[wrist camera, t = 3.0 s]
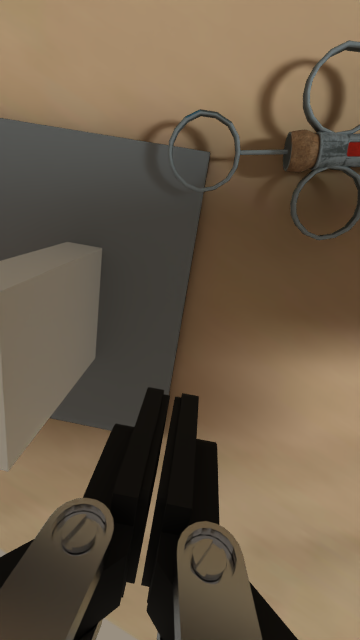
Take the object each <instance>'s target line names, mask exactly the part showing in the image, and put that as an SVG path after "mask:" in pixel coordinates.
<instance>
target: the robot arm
mask: <svg viewBox="0 0 360 640" xmlns="http://www.w3.org/2000/svg"><path fill="white" fill-rule="evenodd" d="M169 398H170V395H164V390H162V389H157V388H151V387H148V388H147V391H146V394H145V397H144V400H143V403H142V406H141V409H140V412H139V415H138V418H137V421H136V424H135V427H132V426H127V425H121V424H115V425H114V427H113V429H112V431H111V433H110V436H109V438H108V440H107V443H106V445H105V447H104V450H103V452H102V454H101V457H100V459H99V461H98V464H97V466H96V468H95V471H94V473H93V475H92V478H91V480H90V482H89V485H88V487H87V489H86V492H85V494H84V496H83V498H78V499H74V500H71V501H69V502H66V503H65V504H63V505H62V506H60V507H59V508H57V509H56V510H55V511H54V513H53V514H52V515H51V516H50V517H49V519H48V520H47V522H46V523H45V524H44V526H43V527H42V529H41V530H40V532H39V533H38V535H37V536H36V538H35V539H33V540H31V541H30V542H28V543H26V544H24V545H22V546H20V547H18V548H17V549H15V550H13V551H11V552H9V553H7V554H5V555H4V556H2V557H0V640H96V638H97V635H98V633H99V630H100V627H101V624H102V620H103V618H105V617H106V616H107V615H108V614H110V613H111V612H112V611H113V610H115V609H116V608H117V607H118V606H120V601H121V597H123V595H124V590H125V586H126V582H129V583H135V578H136V573H137V568H138V563H139V558H140V553H141V548H142V543H143V538H144V533H145V528H146V522H147V517H148V512H149V507H150V502H151V497H152V492H153V487H154V482H155V477H156V472H157V467H158V461H159V456H160V450H161V444H162V438H163V433H164V427H165V421H166V415H167V410H168V404H169ZM198 401H199V396H194V395H189V394H183V393H182V397H181V398H180V397H175V400H174V406H173V411H172V417H171V422H170V428H169V433H168V439H167V444H166V450H165V455H164V461H163V466H162V472H161V478H160V483H159V489H158V494H157V500H156V505H155V511H154V517H153V522H152V528H151V533H150V539H149V545H148V550H147V556H146V561H145V567H144V572H143V578H142V584H141V585H143V586H148V587H149V593H148V599H147V603H148V605H147V613H148V615H149V616H150V618H151V620H152V622H153V624H154V625H155V627H156V629H157V631H158V633H157V640H298V639H297V638H296V637H295V635H294V634H293V633H292V632H291V631H290V629H289V628H288V627H287V626H286V625H285V623H284V622H283V621H282V620H281V619H280V618H279V616H278V615H277V614H276V613H275V612H274V610H273V609H272V608H271V607H270V606H269V604H268V603H267V602H266V601H265V600H264V598H263V597H262V596H261V595H260V594H259V592H258V591H257V590H256V589H255V588H254V586H253V585H252V584H251V583H250V582H249V579H248V574H247V570H246V566H245V561H244V557H243V554H242V551H241V548H240V546H239V544H238V542H237V541H236V539H235V538H234V536H233V535H232V534H231V533H230V532H229V531H227V530H226V529H225V528H224V527H222V526H220V525H219V495H218V460H217V444H216V442H211V441H205V440H200V439H196V435H197V418H198Z"/></svg>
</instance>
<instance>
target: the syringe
mask: <svg viewBox="0 0 360 640" xmlns="http://www.w3.org/2000/svg"><path fill="white" fill-rule="evenodd" d="M344 50H347V51H354V52H360V42H355V41H347V42H345V43H343V44H341V45H339V46H336V47H334V48H332V49H331V50H330V51H329V52H328V53H327V54H326V55H325V56H324V57H323V58H322V59H321V60H320V61H319V62H318V63H317V64H316V65H315V67H314V68H313V70H312V72H311V73H310V75H309V77H308V79H307V81H306V84H305V88H304V93H303V110H304V113H305V116H306V119H307V121H308V122H309V124H310V125H311V126H312V127H313V128H314V130H315V131H316V132H317V133H313V132H310V131H308V130H298V131H292V132H289V134H288V135H287V138H286V142H285V147H284V150H240V141H239V135H238V133H237V131H236V129H235V127H234V125H233V123H232V122H231V121H229V120H228V119H226V118H225V117H223V116H222V115H221V114H219V113H218V112H213V111H207V110H201V109H200V110H198V111H196V112H194V113H192V114H190V115H187V116H185V117H184V119H183V120H182V121H181V122H180V123H179V124H178V125H177V126H176V128H175V129H174V131H173V133H172V136H171V138H170V140H169V147H168V158H169V165H170V167H171V169H172V171H173V173H174V175H175V177H176V178H177V179H178V180H179V181H180V182H181V183H182V184H183V185H184V186H185V187H187V188H189V189H192V190H194V191H196V192H205V191H210V190H215V189H217V188H218V187H220V186H221V185H223V184H224V183H226V182H227V181H229V180H230V178H231V177H232V175H233V174H234V172H235V170H236V169H237V167H238V162H239V157H240V155H266V154H283V168H284V170H285V171H289V172H298V173H299V172H302V171H305V170H308V169H311V170H312V171H311V172H310V173H309V174H307V175H306V176H305V177H304V178H303V179H302V180H301V181H300V182H299V184H298V185H297V187H296V189H295V190H294V192H293V195H292V199H291V203H290V207H291V216H292V219H293V222H294V224H295V225H296V226H297V228H298V229H299V230H300V231H301V232H302V233H303V234H305V235H307V236H309V237H312V238H314V239H317V240H324V239H330V238H336V237H337V236H339V235H341V234H343V233H345V232H347V231H349V230H351V228H352V227H353V226H354V225H355V224H356V222H357V221H358V220H359V219H360V175H359V174H357V173H356V172H355V171H353V170H352V169H350V168H349V167H360V134H353V133H355V132H356V131H358V130H360V125H358V126H357V127H355V128H353V129H352V130H348V131H343V132H337V133H335V132H333V131H331V130H329V129H327V128H324V127H323V126H322V125H321V124H320V123H319V122H318V120H317V119H316V118H315V117H314V115H313V112H312V109H311V106H310V89H311V85H312V81H313V78H314V77H315V75H316V73H317V71H318V70H319V68H320V67H321V66H322V65H323V64H324V63H325V62H326V61H327V60H328V59H329V58H330V57H332V56H334V55H336V54H338V53H340V52H342V51H344ZM200 116H203V117H210V118H216V119H217V120H219V121H220V122H222V123H223V124H225V125H226V126H228V128H229V130H230V132H231V134H232V136H233V138H234V142H235V158H234V164H233V168H232V169H231V171H230V173H229V174H228V176H227V177H226V179H224V180H223V181H221V182H220V183H218V184H216V185H215V186H212V187H206V188H200V189H199V188H197V187H195V186H192V185H190V184H188V183H187V182H186V181H185V180H184V179H183V178H182V177H181V176H180V175H179V174H178V172H177V170H176V168H175V166H174V162H173V155H172V154H173V145H174V142H175V140H176V137H177V135H178V133H179V132H180V131H181V130H182V129H183V127H184V126H185V125H186V124H187V123H188V122H190V121H192V120H194V119H196V118H198V117H200ZM326 169H334V170H341V171H343V172H344V173H346V174H347V175H349V176H350V177H352V178H353V180H354V182H355V184H356V187H357V189H358V201H357V206H356V209H355V212H354V215H353V217H352V218H351V219H350V220H349V222H348V223H347V224H346V225H345V227H343V228H341V229H339V230H337V231H336V232H334V233H332V234H326V235H319V236H317V235H315V234H312V233H310V232H308V231H307V230H306V229H305V228H304V226H303V225H302V224H301V223H300V221H299V219H298V216H297V214H296V203H297V199H298V195H299V192H300V191H301V189H302V188H303V186H304V185H305V183H306V182H307V181H308V180H310V179H311V178H312V177H313V176H314V175H315V174H316V173H319V172H321V171H323V170H326Z"/></svg>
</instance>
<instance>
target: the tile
mask: <svg viewBox="0 0 360 640" xmlns="http://www.w3.org/2000/svg"><path fill="white" fill-rule="evenodd" d="M101 260H102V248H99V247H94V246H88V245H82V244H77V243H71V242H65V243H62V244H58V245H55V246H51V247H48V248H44V249H40V250H37V251H33V252H30V253H26V254H23V255H19V256H16V257H12V258H9V259H5V260H2V261H0V470H4V471H9V470H10V469H11V467H12V466H13V465H14V463H15V462H16V461H17V459H18V458H19V457H20V455H21V454H22V453H23V452H24V450H25V449H26V448H27V446H28V445H29V444H30V442H31V441H32V440H33V439H34V437H35V436H36V435H37V433H38V432H39V431H40V429H41V428H42V427H43V426H44V424H45V423H46V422H47V420H48V419H49V418H50V416H51V415H52V414H53V412H54V411H55V410H56V409H57V407H58V406H59V405H60V403H61V402H62V401H63V399H64V398H65V397H66V396H67V394H68V393H69V392H70V390H71V389H72V388H73V386H74V385H75V384H76V383H77V381H78V380H79V379H80V377H81V376H82V375H83V373H84V372H85V371H86V369H87V368H88V367H89V366H90V364H91V363H92V362H93V360H94V359H95V354H96V338H97V323H98V307H99V292H100V276H101Z"/></svg>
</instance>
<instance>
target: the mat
mask: <svg viewBox="0 0 360 640" xmlns="http://www.w3.org/2000/svg"><path fill="white" fill-rule="evenodd" d="M168 147H169V145H163V144H157V143H151V142H145V141H138V140H132V139H126V138H120V137H114V136H108V135H102V134H95V133H89V132H83V131H77V130H71V129H65V128H59V127H52V126H46V125H40V124H34V123H28V122H22V121H16V120H9V119H3V118H0V261H2V260H5V259H9V258H12V257H16V256H19V255H23V254H26V253H30V252H33V251H37V250H40V249H44V248H48V247H51V246H55V245H58V244H62V243H65V242H71V243H77V244H82V245H88V246H94V247H99V248H102V260H101V276H100V292H99V307H98V323H97V338H96V354H95V359H94V360H93V362H92V363H91V364H90V366H89V367H88V368H87V369H86V371H85V372H84V373H83V375H82V376H81V377H80V379H79V380H78V381H77V383H76V384H75V385H74V386H73V388H72V389H71V390H70V392H69V393H68V394H67V396H66V397H65V398H64V399H63V401H62V402H61V403H60V405H59V406H58V407H57V409H56V410H55V411H54V412H53V414H52V415H51V416H50V418H52V419H57V420H62V421H67V422H72V423H76V424H81V425H86V426H91V427H96V428H101V429H106V430H110V431H112V429H113V427H114V425H115V424H121V425H127V426H132V427H135V424H136V421H137V418H138V415H139V412H140V409H141V406H142V403H143V400H144V397H145V394H146V391H147V388H148V387H151V388H157V389H162V390H164V395H169V391H170V385H171V380H172V374H173V368H174V362H175V356H176V351H177V345H178V339H179V333H180V327H181V321H182V316H183V310H184V304H185V298H186V292H187V286H188V281H189V275H190V269H191V263H192V257H193V251H194V246H195V240H196V234H197V228H198V222H199V216H200V211H201V205H202V199H203V193H204V192H196V191H194V190H192V189H189V188H187V187H185V186H184V185H183V184H182V183H181V182H180V181H179V180H178V179H177V178H176V177H175V175H174V173H173V171H172V169H171V167H170V165H169V158H168ZM172 155H173V162H174V166H175V168H176V170H177V172H178V174H179V175H180V176H181V177H182V178H183V179H184V180H185V181H186V182H187V183H188V184H190V185H192V186H195V187H197V188H199V189H200V188H204V187H205V182H206V176H207V170H208V164H209V158H210V152H206V151H200V150H194V149H188V148H181V147H175V146H173V154H172Z"/></svg>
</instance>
